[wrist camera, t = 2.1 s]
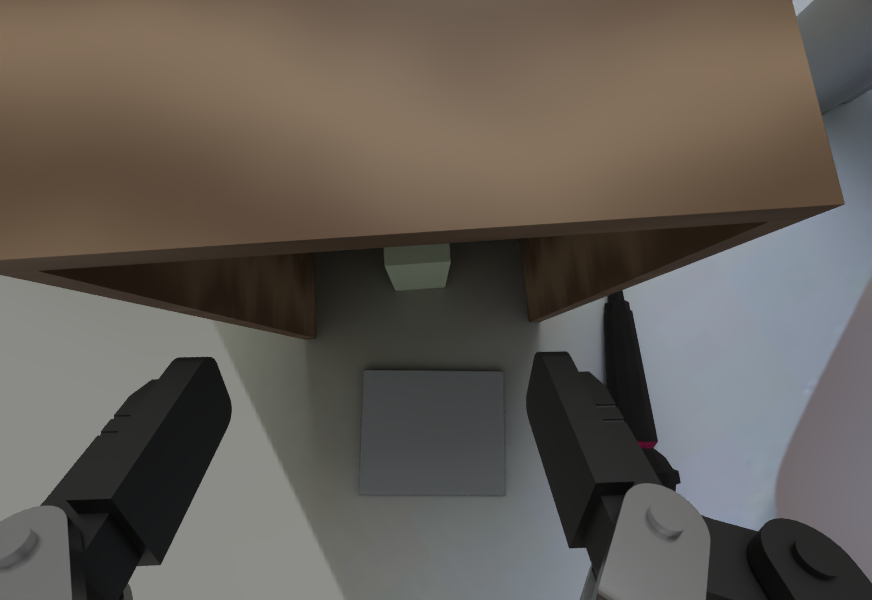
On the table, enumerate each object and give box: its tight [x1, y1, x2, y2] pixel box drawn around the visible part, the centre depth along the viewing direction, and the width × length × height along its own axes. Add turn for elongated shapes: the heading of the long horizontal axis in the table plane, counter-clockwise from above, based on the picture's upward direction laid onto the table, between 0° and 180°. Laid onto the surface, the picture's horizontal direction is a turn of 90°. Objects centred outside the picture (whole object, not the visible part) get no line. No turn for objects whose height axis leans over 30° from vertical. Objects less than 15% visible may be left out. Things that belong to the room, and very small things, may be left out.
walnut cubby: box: [0, 0, 845, 339], centre depth 23 cm, size 14×21×26 cm, turn 94°
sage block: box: [384, 243, 451, 291], centre depth 31 cm, size 4×4×9 cm
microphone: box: [604, 290, 681, 491], centre depth 33 cm, size 6×6×20 cm
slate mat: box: [359, 370, 506, 496], centre depth 33 cm, size 12×10×1 cm
